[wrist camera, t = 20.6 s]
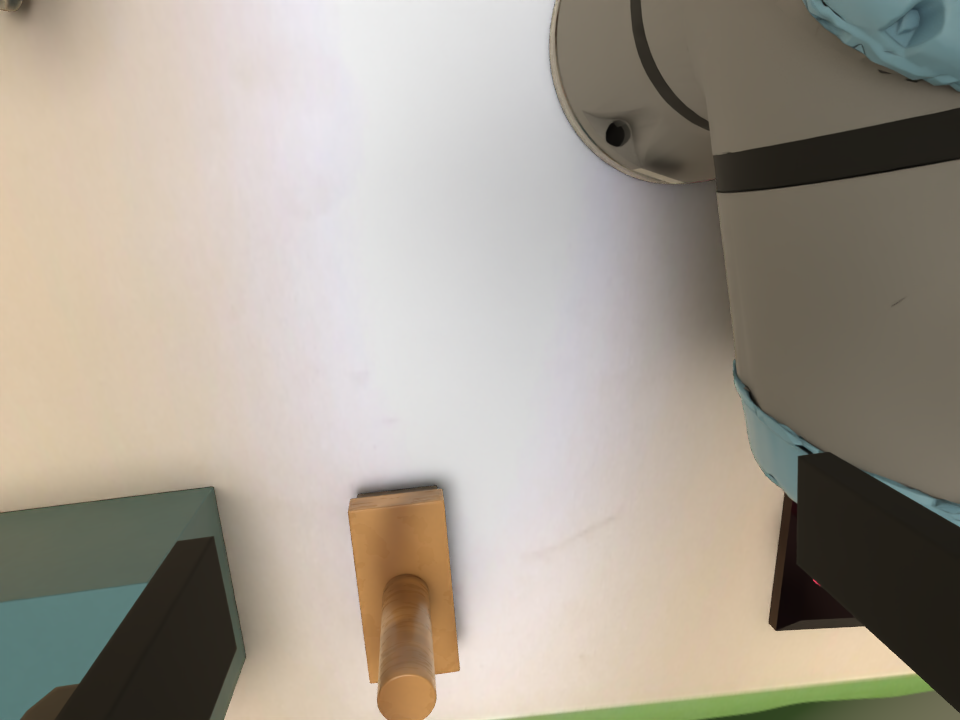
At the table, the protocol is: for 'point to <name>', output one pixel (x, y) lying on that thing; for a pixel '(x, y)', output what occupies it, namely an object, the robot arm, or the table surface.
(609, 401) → the table surface
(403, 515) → the stamp
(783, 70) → the robot arm
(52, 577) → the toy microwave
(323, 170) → the table surface
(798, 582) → the lizard figurine
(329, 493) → the table surface
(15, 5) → the mug
